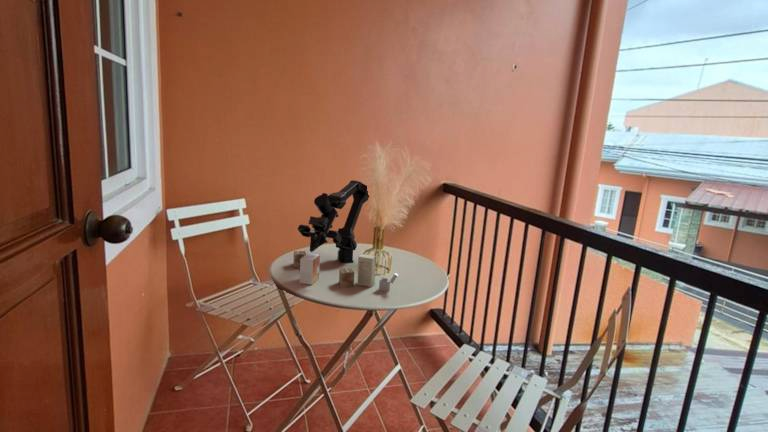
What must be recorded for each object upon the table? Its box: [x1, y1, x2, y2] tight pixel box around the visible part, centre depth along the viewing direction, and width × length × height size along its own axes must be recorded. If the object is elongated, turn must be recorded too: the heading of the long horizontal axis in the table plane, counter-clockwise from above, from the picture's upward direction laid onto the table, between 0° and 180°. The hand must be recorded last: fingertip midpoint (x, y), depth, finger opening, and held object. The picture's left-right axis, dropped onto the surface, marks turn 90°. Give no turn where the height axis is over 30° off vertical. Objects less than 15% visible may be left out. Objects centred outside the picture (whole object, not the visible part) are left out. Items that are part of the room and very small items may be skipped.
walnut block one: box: [338, 267, 355, 288], centre depth 160 cm, size 5×5×6 cm
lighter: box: [378, 272, 399, 293], centre depth 157 cm, size 7×2×8 cm, turn 75°
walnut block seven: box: [293, 250, 307, 269], centre depth 177 cm, size 5×5×6 cm
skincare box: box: [357, 253, 376, 288], centre depth 161 cm, size 6×4×12 cm
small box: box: [299, 252, 321, 285], centre depth 161 cm, size 8×6×10 cm
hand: (310, 251), depth 159 cm, fingers closed
